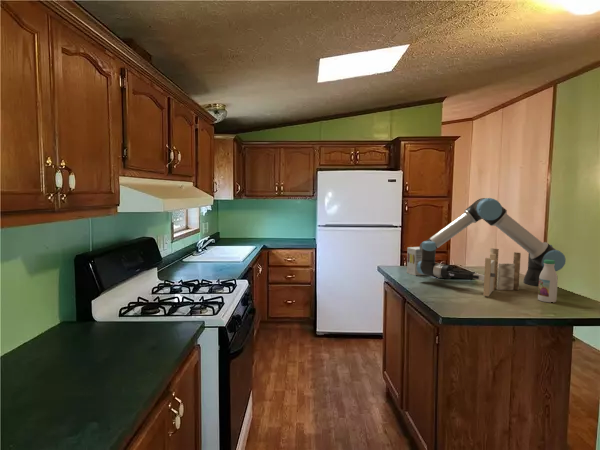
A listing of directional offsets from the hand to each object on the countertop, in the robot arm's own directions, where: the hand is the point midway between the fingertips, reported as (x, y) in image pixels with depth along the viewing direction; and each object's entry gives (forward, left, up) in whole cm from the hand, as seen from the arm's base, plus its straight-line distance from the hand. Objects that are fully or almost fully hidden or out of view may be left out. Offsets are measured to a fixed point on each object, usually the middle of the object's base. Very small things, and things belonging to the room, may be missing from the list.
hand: (485, 278), depth 206 cm
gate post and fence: (-13, -13, -8) cm, 20 cm away
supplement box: (+28, -47, -8) cm, 55 cm away
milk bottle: (-26, +8, -8) cm, 29 cm away
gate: (-3, -1, -8) cm, 8 cm away
